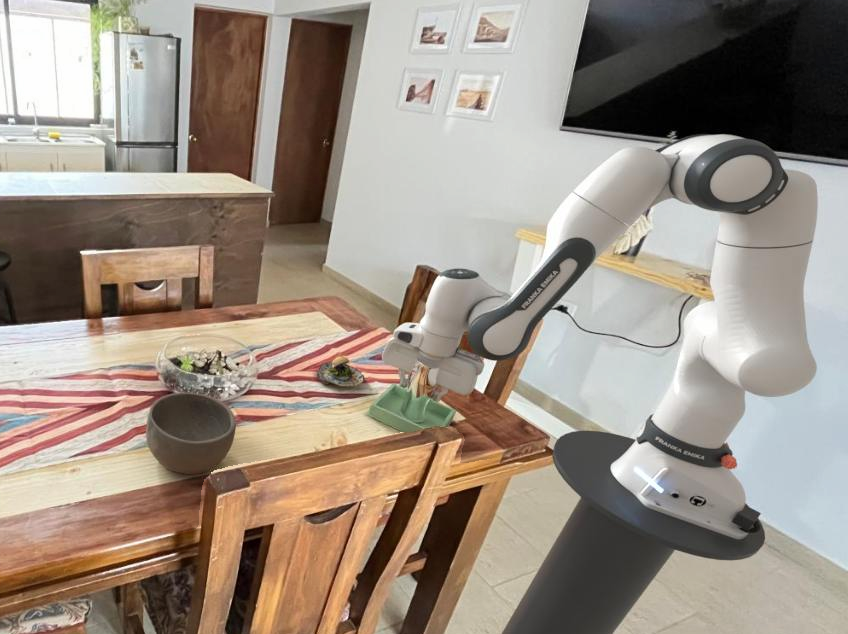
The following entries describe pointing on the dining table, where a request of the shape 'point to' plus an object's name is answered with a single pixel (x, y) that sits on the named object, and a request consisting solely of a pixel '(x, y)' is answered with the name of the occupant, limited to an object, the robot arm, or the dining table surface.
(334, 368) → the burger
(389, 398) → the serving tray
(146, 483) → the dining table surface
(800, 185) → the robot arm
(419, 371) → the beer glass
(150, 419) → the bowl
